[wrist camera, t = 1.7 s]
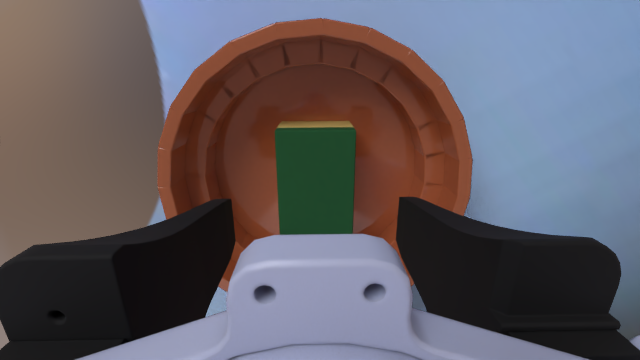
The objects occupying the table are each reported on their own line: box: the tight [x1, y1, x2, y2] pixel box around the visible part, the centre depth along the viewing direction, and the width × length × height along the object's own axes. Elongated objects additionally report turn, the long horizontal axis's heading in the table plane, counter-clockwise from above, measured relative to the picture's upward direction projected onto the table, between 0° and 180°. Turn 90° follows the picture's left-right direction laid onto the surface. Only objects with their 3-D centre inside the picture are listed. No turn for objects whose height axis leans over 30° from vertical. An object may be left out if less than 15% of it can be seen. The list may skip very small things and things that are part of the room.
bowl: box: [158, 18, 473, 292], centre depth 18 cm, size 16×16×4 cm
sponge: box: [275, 121, 356, 235], centre depth 18 cm, size 6×4×3 cm, turn 0°
